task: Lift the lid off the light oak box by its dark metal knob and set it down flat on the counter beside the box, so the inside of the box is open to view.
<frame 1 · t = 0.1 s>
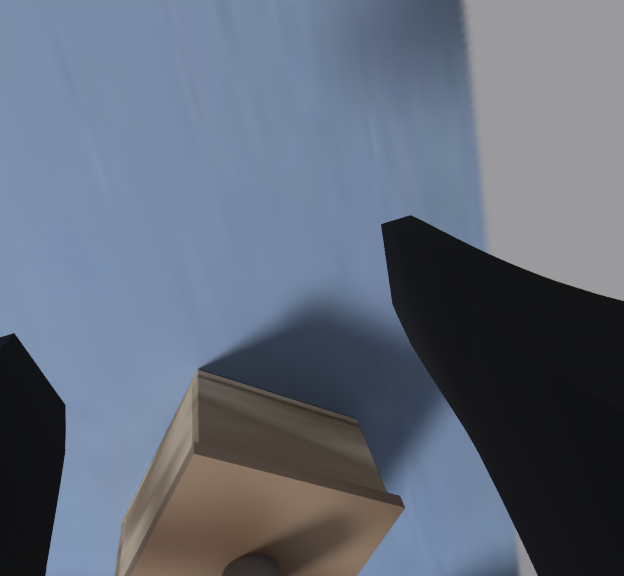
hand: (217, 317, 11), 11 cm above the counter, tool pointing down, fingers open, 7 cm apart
lid: (249, 560, 22), point 5 cm above the counter, touching box
box: (239, 469, 26), on the counter
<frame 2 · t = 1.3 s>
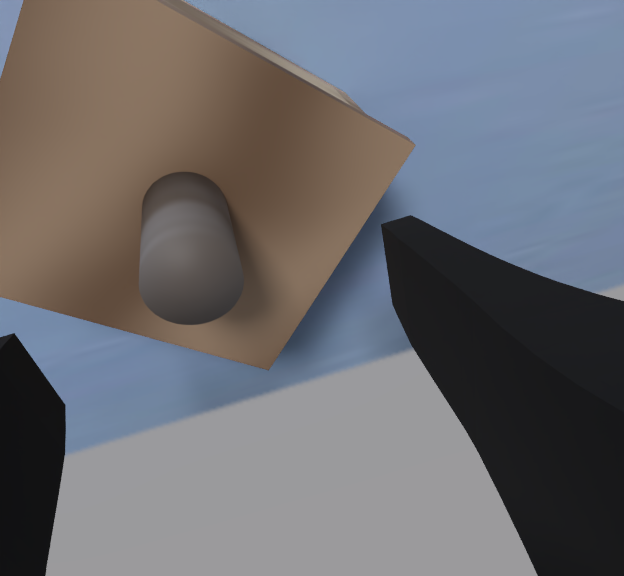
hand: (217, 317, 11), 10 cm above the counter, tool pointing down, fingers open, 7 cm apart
lid: (184, 200, 15), point 5 cm above the counter, touching box
box: (178, 137, 19), on the counter
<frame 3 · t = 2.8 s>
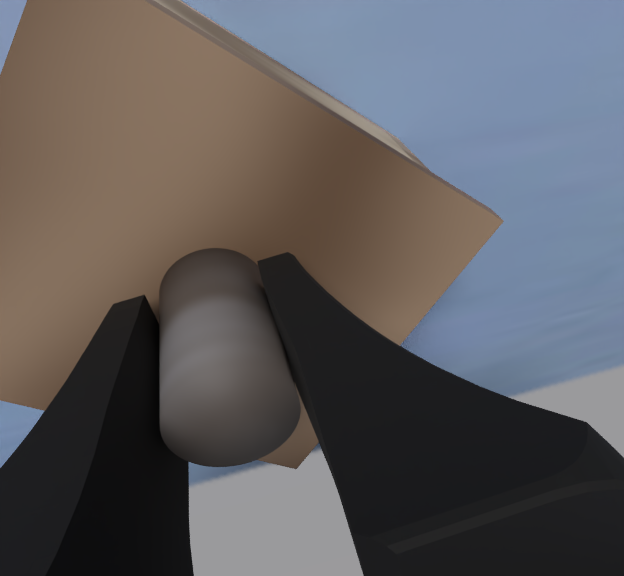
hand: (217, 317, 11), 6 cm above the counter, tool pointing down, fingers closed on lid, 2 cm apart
lid: (211, 278, 12), point 5 cm above the counter, touching box, gripper
box: (198, 183, 16), on the counter
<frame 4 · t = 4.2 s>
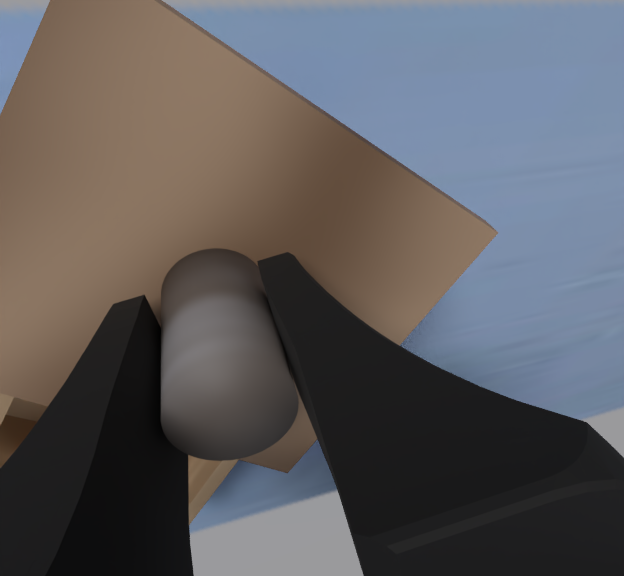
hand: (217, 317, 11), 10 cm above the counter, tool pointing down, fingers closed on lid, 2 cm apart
lid: (212, 278, 12), point 9 cm above the counter, touching gripper
box: (116, 370, 24), on the counter
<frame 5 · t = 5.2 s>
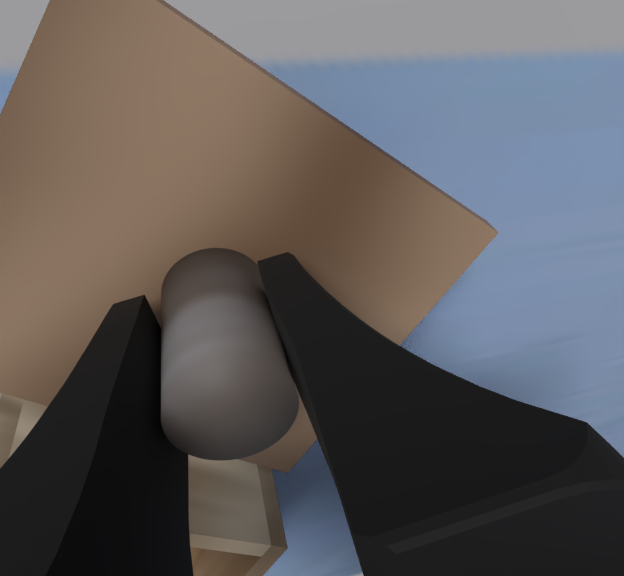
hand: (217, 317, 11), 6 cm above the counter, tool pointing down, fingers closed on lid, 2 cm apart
lid: (212, 278, 12), point 4 cm above the counter, touching gripper
box: (105, 469, 21), on the counter
when the fingers open (3 cm above the counter, at t = 5.9 s): lid drops 2 cm, on the counter.
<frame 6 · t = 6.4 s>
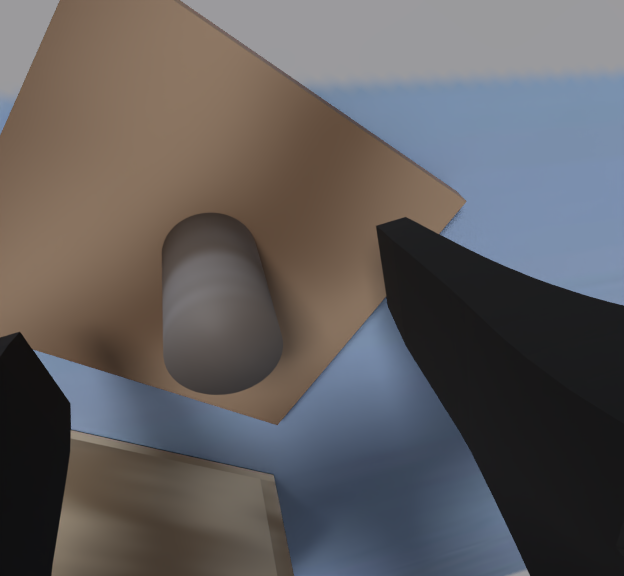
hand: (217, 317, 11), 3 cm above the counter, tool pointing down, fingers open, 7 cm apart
lid: (208, 241, 14), on the counter
box: (101, 523, 19), on the counter
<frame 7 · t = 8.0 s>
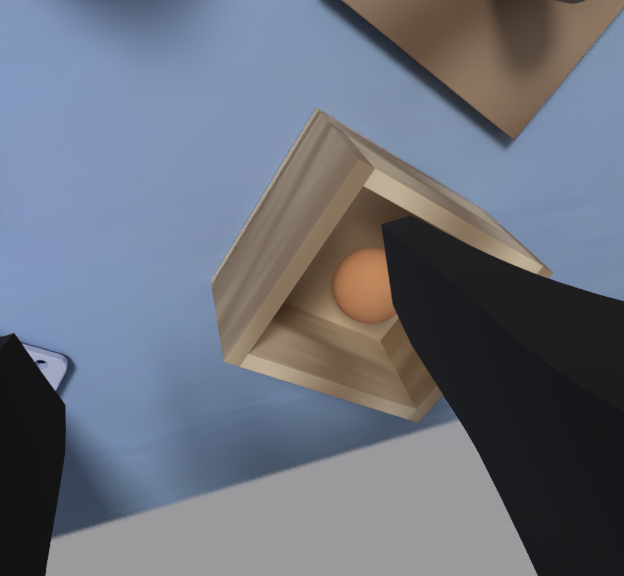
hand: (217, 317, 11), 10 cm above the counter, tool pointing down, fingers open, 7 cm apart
ball: (358, 266, 23), point 1 cm above the counter, touching box
box: (352, 245, 23), on the counter
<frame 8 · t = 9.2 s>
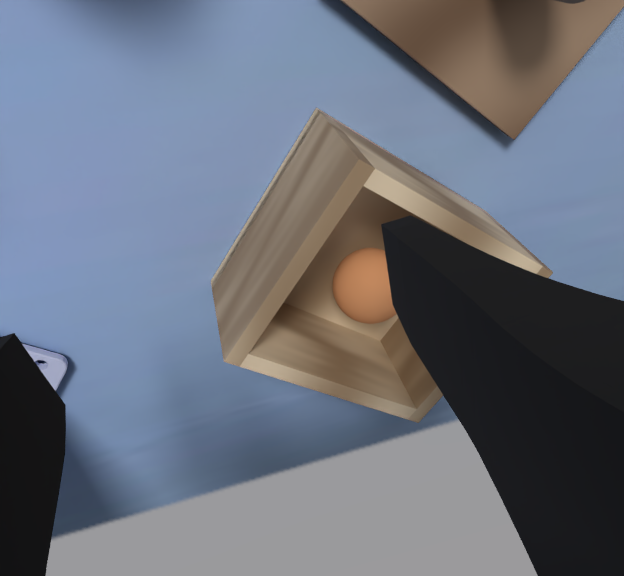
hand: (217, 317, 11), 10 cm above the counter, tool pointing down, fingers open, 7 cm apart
ball: (358, 266, 23), point 1 cm above the counter, touching box
box: (352, 245, 23), on the counter
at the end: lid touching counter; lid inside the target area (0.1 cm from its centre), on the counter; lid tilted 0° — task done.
